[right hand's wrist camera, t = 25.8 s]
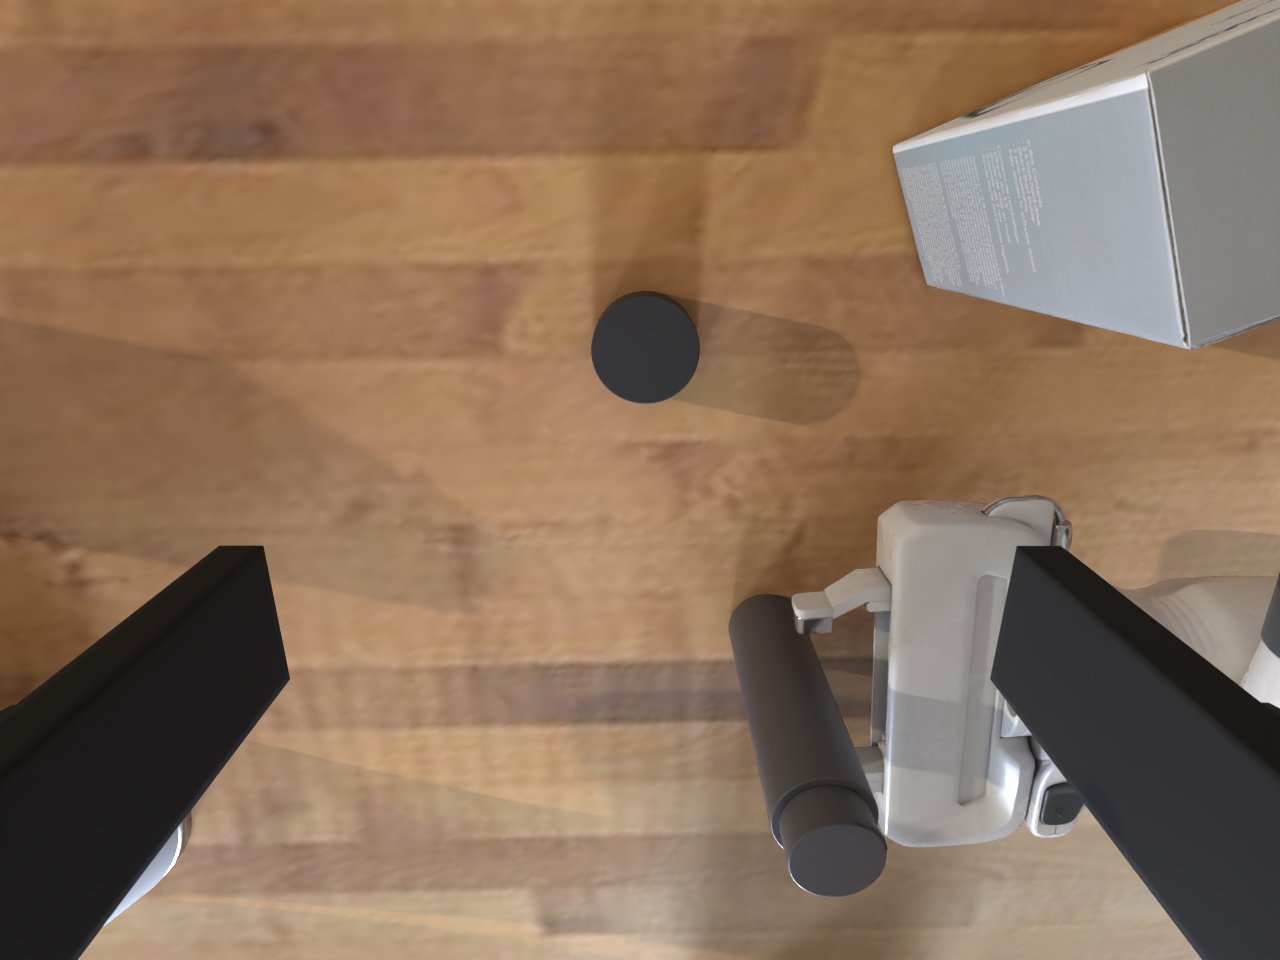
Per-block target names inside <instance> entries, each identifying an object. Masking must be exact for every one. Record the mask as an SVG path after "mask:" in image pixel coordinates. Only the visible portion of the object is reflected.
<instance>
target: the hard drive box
mask: <svg viewBox="0 0 1280 960" xmlns="http://www.w3.org/2000/svg"><path fill="white" fill-rule="evenodd" d="M893 154H894V158H895V162H896V166H897V171H898V175H899V179H900V183H901V187H902V191H903V195H904V199H905V203H906V207H907V210H908V214H909V218H910V222H911V226H912V230H913V234H914V238H915V242H916V246H917V250H918V254H919V258H920V262H921V265H922V269H923V272H924V276H925V279H926V283H927V284H928V285H930V286H935V287H938V288H942V289H946V290H950V291H954V292H958V293H962V294H966V295H970V296H974V297H979V298H982V299H986V300H990V301H994V302H999V303H1003V304H1006V305H1010V306H1014V307H1018V308H1022V309H1026V310H1030V311H1035V312H1039V313H1043V314H1047V315H1051V316H1055V317H1059V318H1063V319H1067V320H1071V321H1075V322H1079V323H1083V324H1087V325H1091V326H1095V327H1099V328H1104V329H1108V330H1112V331H1116V332H1121V333H1125V334H1129V335H1133V336H1137V337H1141V338H1144V339H1148V340H1153V341H1157V342H1161V343H1165V344H1169V345H1173V346H1177V347H1182V348H1186V349H1190V350H1194V349H1197V348H1200V347H1203V346H1206V345H1209V344H1213V343H1216V342H1219V341H1222V340H1225V339H1227V338H1230V337H1233V336H1236V335H1239V334H1241V333H1244V332H1247V331H1250V330H1252V329H1255V328H1258V327H1261V326H1263V325H1266V324H1269V323H1272V322H1274V321H1277V320H1280V0H1238V1H1235V2H1233V3H1230V4H1227V5H1225V6H1222V7H1220V8H1217V9H1215V10H1212V11H1210V12H1207V13H1205V14H1202V15H1200V16H1197V17H1194V18H1192V19H1190V20H1187V21H1185V22H1182V23H1180V24H1178V25H1175V26H1173V27H1171V28H1168V29H1166V30H1163V31H1161V32H1159V33H1156V34H1154V35H1152V36H1149V37H1147V38H1145V39H1142V40H1140V41H1138V42H1135V43H1133V44H1130V45H1128V46H1126V47H1123V48H1121V49H1119V50H1116V51H1114V52H1112V53H1109V54H1107V55H1105V56H1102V57H1100V58H1098V59H1095V60H1093V61H1090V62H1088V63H1086V64H1083V65H1081V66H1079V67H1076V68H1074V69H1072V70H1069V71H1067V72H1064V73H1062V74H1060V75H1057V76H1055V77H1053V78H1050V79H1048V80H1046V81H1043V82H1041V83H1038V84H1036V85H1034V86H1031V87H1029V88H1027V89H1024V90H1022V91H1019V92H1017V93H1015V94H1013V95H1010V96H1008V97H1006V98H1003V99H1001V100H998V101H996V102H994V103H991V104H989V105H987V106H984V107H982V108H979V109H977V110H975V111H972V112H970V113H968V114H965V115H963V116H961V117H958V118H956V119H954V120H951V121H949V122H947V123H944V124H942V125H940V126H938V127H935V128H933V129H931V130H928V131H926V132H924V133H921V134H919V135H917V136H914V137H912V138H910V139H907V140H905V141H903V142H901V143H898V144H896V145H894V147H893Z"/></svg>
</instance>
